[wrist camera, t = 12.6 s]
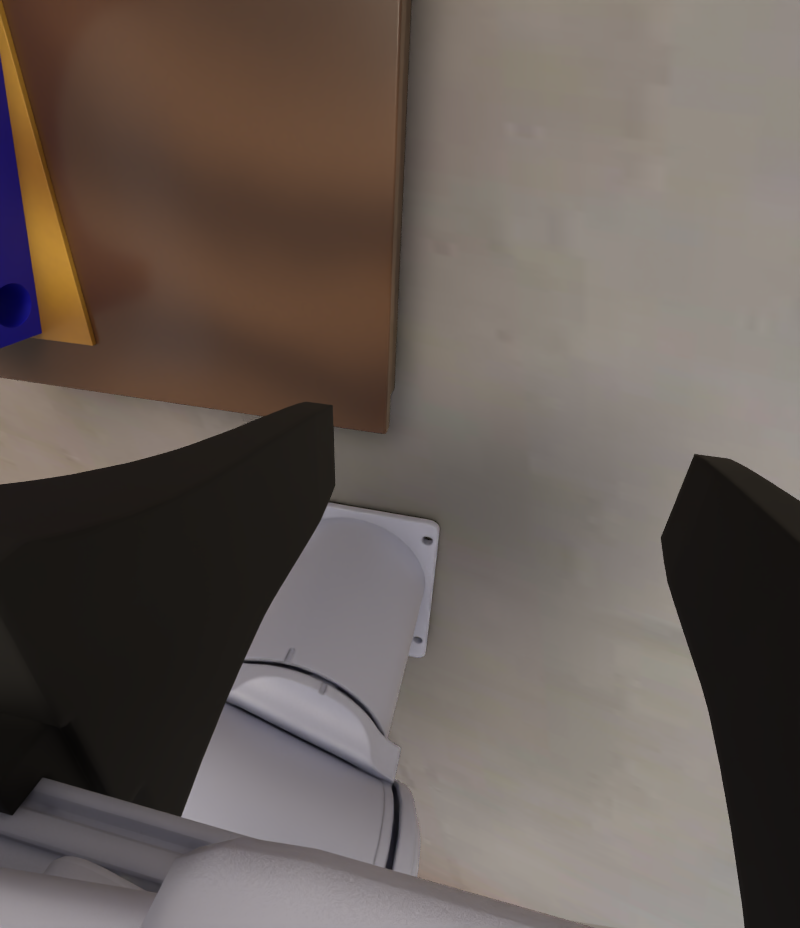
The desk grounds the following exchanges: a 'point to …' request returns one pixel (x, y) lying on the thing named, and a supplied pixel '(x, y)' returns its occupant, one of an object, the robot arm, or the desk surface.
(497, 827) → the desk surface
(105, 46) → the walnut stand
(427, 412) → the desk surface
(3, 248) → the cable clip
